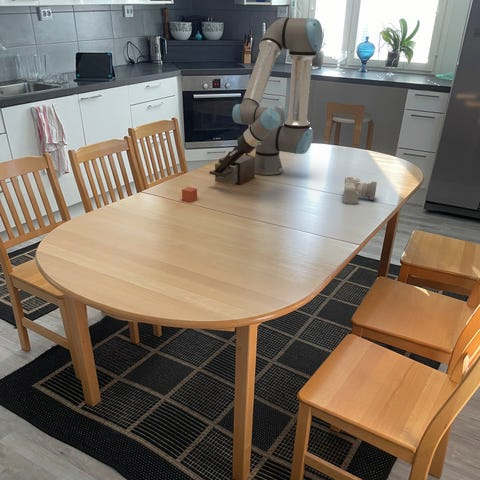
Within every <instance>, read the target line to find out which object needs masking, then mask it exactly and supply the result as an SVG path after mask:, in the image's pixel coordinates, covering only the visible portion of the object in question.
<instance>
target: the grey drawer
mask: <svg viewBox="0 0 480 480" xmlns="http://www.w3.org/2000/svg"><path fill="white" fill-rule="evenodd" d="M219 166H220V163H219V162H215V163H214V170H209V172H208V173H209V175H212V176H214V182H216V183H221V184H224V185H225V184H226V185H231V186H236V184H235V183H237V182H239V164H232V165H230V168H228V167H227V169H226V170H225V171H223V172H222V173H219V172H214V171H215V170H216V169H217V168H218V167H219ZM215 175H217V176H218V177H216V176H215Z"/></svg>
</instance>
